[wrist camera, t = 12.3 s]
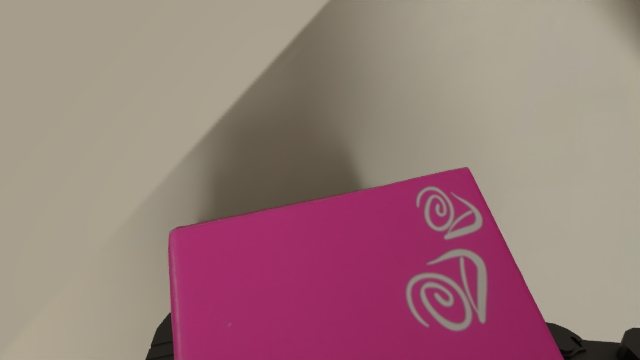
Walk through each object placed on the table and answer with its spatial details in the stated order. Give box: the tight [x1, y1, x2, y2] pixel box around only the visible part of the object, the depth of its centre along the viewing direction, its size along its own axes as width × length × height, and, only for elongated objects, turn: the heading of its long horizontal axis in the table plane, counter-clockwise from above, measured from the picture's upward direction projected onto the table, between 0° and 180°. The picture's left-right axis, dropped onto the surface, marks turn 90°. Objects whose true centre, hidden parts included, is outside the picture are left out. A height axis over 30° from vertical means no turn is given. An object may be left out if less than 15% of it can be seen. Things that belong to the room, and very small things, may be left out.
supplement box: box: [168, 167, 564, 360], centre depth 9 cm, size 6×6×12 cm
